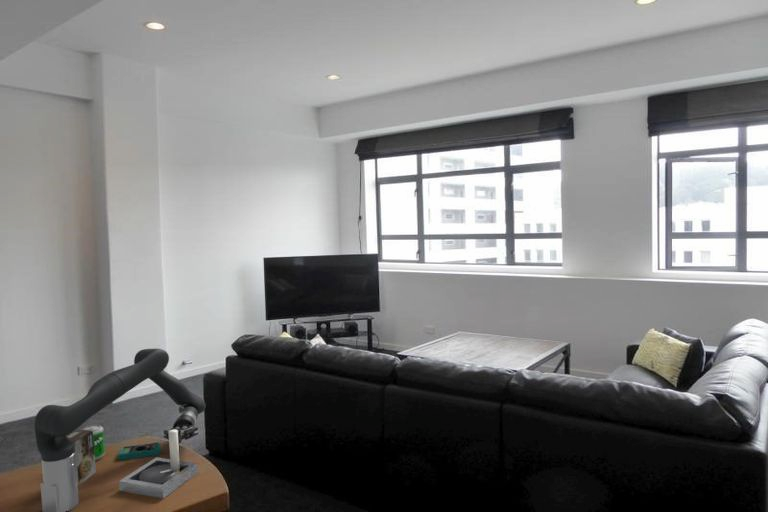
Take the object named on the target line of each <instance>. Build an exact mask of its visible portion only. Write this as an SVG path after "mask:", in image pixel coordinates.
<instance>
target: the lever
mask: <svg viewBox="0 0 768 512" xmlns="http://www.w3.org/2000/svg"><path fill="white" fill-rule="evenodd" d="M168 431H169V440H168V447H169V459H170V464H163V465H157V466H154V467H151V468H148V469H146V470H145V471H143V472H142V473H141V474H140V476H139V481H143V482H149V483H155V484H161V485H163V484H164V483H165V482H167V481H168V480H169V479H171V478H172V477H174V476H175V475H176V474H178V473H179V472H180V471H179V469H180V463H179V461H180V452H179V450H180V449H179V445H180V444H179V445H178V430H176V429H174V430H170V429H169V430H168Z"/></svg>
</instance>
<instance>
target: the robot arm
mask: <svg viewBox="0 0 768 512" xmlns="http://www.w3.org/2000/svg"><path fill="white" fill-rule="evenodd" d="M169 361H170V356H169V354H168V352H167V351H166V350H165V349H162V348H145V349H141V350H139V351H137V353H136V354H135V355H134V360H133V364H131V365H128V366H125V367H122V368H119V369H116V370H114V371H111V372H109V373H107V374H106V375H104V376H102V377H101V378H99V379H98V380H96V381H95V382H94V383H93V384H92V385H91V387H90V388H89V389H88V391H87V394H86V395H85V396H84V397H83V398H81V399H79V400H78V401H76V402H75V403H71V405H70V404H69V405H68V406H67V405H66V406H64V405H58V404H57V405H56V404H48V405H45V406H43V407H41V408H40V409H39V410H38V412H37V413H36V416H35V419H34V433H35V441H36V447H37V450H38V452H39V454H40V458H41V470H42V471H41V473H42V481H43V482H42V483H40V486H39V487H40V497H41V508H42V512H66V511H67V512H70V511H71V510H73V509H75V508H76V507H77V506H78V505H79V502H80V501H79V499H80V498H79V489H78V488H79V487H78V486H79V485H77V472H76V458H75V446H74V443H73V442H72V441H70V440H69V439H68V438H67V437H66V436H68V435H69V434H71V433H73V432H74V431H76V430H78V429H79V428H80V427H81V426H82V425H83V424H84V423H86V421H88V420H89V419H90V418H92V416H94V415H96V414H97V413H98V412H100V411H101V410H103V409H104V408H106V407H107V406H108V405H110V404H112V403H113V402H115V401H116V400H118V399H119V398H121V397H122V396H124V395H125V394H127V393H128V392H130V391H131V390H132V389H134V388H136V387H137V386H138V385H139V384H141V383H142V382H144V381H145V380H148V379H149V380H150V381H152V382H153V383H155V385H156V386H158V387H159V388H160V389H162V391H164V393H166V395H167V396H169V398H170V399H171V400H172V402H174V404H176V405H177V406H178V412H179V414H178V416H177V417H176V419H175V421H174V422H173V423H174V424H173V425H172V427H171V428H170V429H169V430H167V429H163V438H164V439H166V440H168V441H169V431H170V430H174V429H176V430H178V445H180V444H181V443H182V441H184V440H185V441H186V440H189V439H191V438H194V437H196V436H197V435H199V427H197V426H196V423H197V419H198V416H199V415H200V414H201V413H203V412H205V410H206V406H207V405H206V402H205V400H204V399H203V398H202V397H201V396H200V395H198V394H196V393H194V392H192V391H190V390H189V389H188V388H187V386H185V384H184V383H183V382H182V381H181V380H179V379H178V378H176V377H175V376H174V375H171V374H170V373H169V372H167V371H165V369H166V368H167V367H168V364H169Z"/></svg>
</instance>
